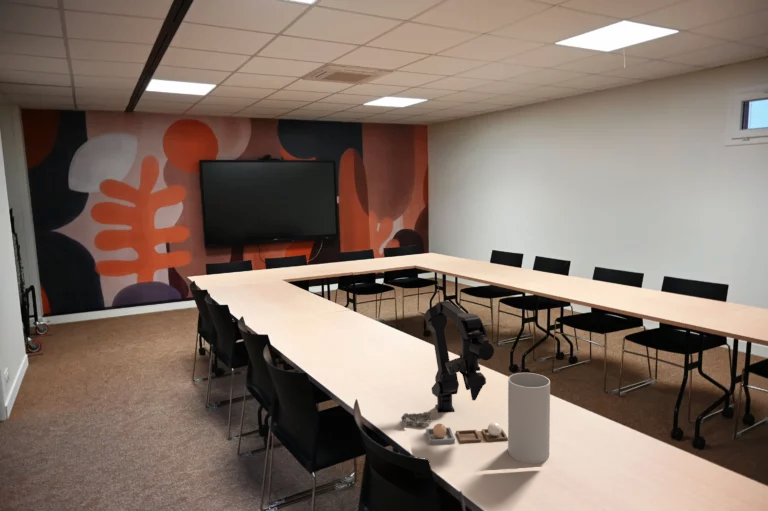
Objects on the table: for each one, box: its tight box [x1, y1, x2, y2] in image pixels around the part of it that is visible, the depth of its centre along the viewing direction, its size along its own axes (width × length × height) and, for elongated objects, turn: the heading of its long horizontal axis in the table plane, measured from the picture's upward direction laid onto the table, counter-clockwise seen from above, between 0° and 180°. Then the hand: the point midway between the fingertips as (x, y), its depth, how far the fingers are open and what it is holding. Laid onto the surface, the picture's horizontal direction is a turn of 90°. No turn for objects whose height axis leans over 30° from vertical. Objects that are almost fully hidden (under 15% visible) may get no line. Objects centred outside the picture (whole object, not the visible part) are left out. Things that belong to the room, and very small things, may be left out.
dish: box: [425, 427, 456, 446], centre depth 170 cm, size 8×8×2 cm
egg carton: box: [400, 411, 433, 429], centre depth 182 cm, size 11×8×4 cm
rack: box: [455, 427, 508, 445], centre depth 170 cm, size 8×16×2 cm, turn 94°
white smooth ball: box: [487, 421, 503, 437], centre depth 170 cm, size 5×5×5 cm
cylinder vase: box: [507, 372, 551, 464], centre depth 157 cm, size 12×12×25 cm
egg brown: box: [432, 423, 448, 439], centre depth 171 cm, size 5×5×5 cm
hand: (470, 394), depth 175 cm, fingers open, 9 cm apart
